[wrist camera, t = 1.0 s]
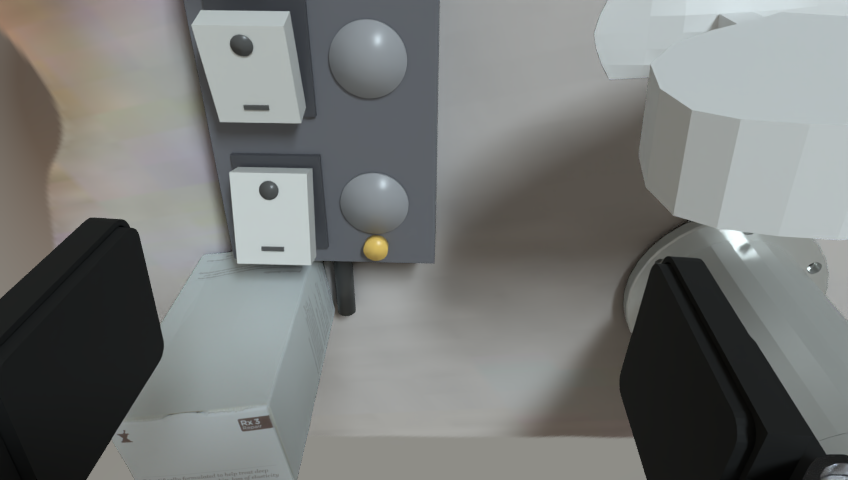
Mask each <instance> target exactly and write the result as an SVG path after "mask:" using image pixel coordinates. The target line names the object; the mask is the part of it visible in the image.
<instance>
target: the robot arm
mask: <svg viewBox="0 0 848 480" xmlns="http://www.w3.org/2000/svg"><path fill="white" fill-rule="evenodd" d="M828 275H829V272H828V267H827V262H826V258H825V256H824V254H823V252H822V250H821V248H820V247H819V245H818V244H817V243H816V242H815V241H814V240H813V238H798V237H783V236H773V235H765V234H757V233H749V232H741V231H733V230H725V229H717V228H713V227H710V226H707V225H703V224H700V223H697V222H693V221H691V222H689V223H687V224H684V225H682V226H680V227H679V228H677V229H675V230H674V231H672V232H670V233H669V234H667V235H665V236H664V237H663V238H662V239H660V240H659V241H658V242H657V243H655V244H654V245H653V246H652V247H651V248H650V249H649V250H648V251H647V252H646V253H645V254H644V255H643V257H642V258H641V259H640V260H639V261H638V263H637V264H636V266H635V268H634V269H633V271H632V273H631V274H630V276H629V279H628V282H627V285H626V288H625V291H624V301H623V307H624V314H625V319H626V321H627V324H628V327H629V330H630V332H631V334H632V336H631V339H630V343H629V346H628V349H627V353H626V356H625V360H624V363H623V367H622V370H621V374H620V393H621V397H622V400H623V403H624V406H625V410H626V413H627V416H628V419H629V423H630V426H631V429H632V433H633V436H634V439H635V442H636V445H637V449H638V452H639V455H640V459H641V462H642V465H643V468H644V472H645V475H646V478H647V480H848V321H847V320H846V319H845V318H844V316H843V315H842V314H841V313H840V312H839V311H838V309H837V308H836V307H835V306H834V305H833V304H832V303H831V301H830V300H829V299H828V298H827V297H826V296H825V294H826V291H827V288H828ZM163 350H164V340H163V336H162V331H161V327H160V323H159V318H158V314H157V310H156V306H155V301H154V297H153V293H152V288H151V284H150V280H149V275H148V271H147V267H146V263H145V258H144V254H143V250H142V245H141V241H140V237H139V234H138V232H137V230H136V229H134V228H130V226H129V224H128V223H127V222H126V221H125V220H122V219H107V218H89V219H87V220H86V221H85V222H84V223H82V224H81V225H80V226H79V227H78V228H77V229H76V230H75V231H74V232H73V233H72V234H70V235H69V236H68V237H67V238H66V239H65V240H64V241H63V242H62V243H61V244H60V245H58V246H57V247H56V248H55V249H54V250H53V251H52V252H51V253H50V254H49V255H48V256H46V257H45V258H44V259H43V260H42V261H41V262H40V263H39V264H38V265H37V266H36V267H35V268H33V269H32V270H31V271H30V272H29V273H28V274H27V275H26V276H25V277H24V278H22V280H20V281H19V282H18V283H17V284H16V285H15V286H14V287H13V288H12V289H10V290H9V291H8V292H7V293H6V294H5V295H4V296H3V297H2V298H1V299H0V480H86V479H87V478H88V476H89V474H90V473H91V471H92V469H93V468H94V466H95V464H96V463H97V462H98V460H99V458H100V457H101V455H102V453H103V452H104V450H105V449H106V447H107V445H108V444H109V442H110V441H111V439H112V437H113V436H114V434H115V433H116V431H117V429H118V428H119V426H120V425H121V423H122V421H123V420H124V418H125V417H126V415H127V413H128V412H129V410H130V409H131V407H132V405H133V404H134V402H135V400H136V399H137V397H138V396H139V394H140V392H141V391H142V389H143V388H144V386H145V384H146V383H147V381H148V380H149V378H150V376H151V375H152V373H153V372H154V370H155V368H156V367H157V365H158V364H159V362H160V360H161V358H162V355H163Z"/></svg>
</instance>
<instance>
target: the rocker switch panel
mask: <svg viewBox="0 0 848 480" xmlns="http://www.w3.org/2000/svg"><path fill="white" fill-rule="evenodd" d="M184 5H185V10H186V15H187V20H188V26H189V31H190V36H191V41H192V46H193V51H194V56H195V61H196V66H197V71H198V77H199V82H200V87H201V92H202V97H203V102H204V107H205V112H206V117H207V123H208V128H209V133H210V138H211V143H212V148H213V153H214V158H215V163H216V168H217V174H218V179H219V184H220V189H221V194H222V199H223V204H224V209H225V214H226V220H227V225H228V230H229V235H230V240H231V245H232V250H233V255H234V259H237V254H236V243H235V232H234V221H233V209H232V198H231V187H230V176H229V172H230V171H232V170H234V169H235V168H237V167H267V168H312V172H313V194H314V216H315V239H316V258H315V260H314V261H334V271H335V282H336V293H337V304H338V312H339V314H340V315H343V316H350V315H352V314H354V313H355V311H356V307H355V293H354V279H353V265H352V262H394V263H435V234H436V180H437V123H438V66H439V9H440V0H184ZM200 10H225V11H290V16H291V22H292V28H293V33H294V39H295V45H296V51H297V57H298V63H299V69H300V75H301V81H302V86H303V92H304V98H305V104H306V109H305V112H304V116H303V119H302V122H301V123H245V122H220V121H219V117H218V114H217V110H216V107H215V104H214V100H213V97H212V94H211V90H210V87H209V84H208V80H207V77H206V73H205V70H204V67H203V63H202V60H201V57H200V53H199V50H198V46H197V43H196V40H195V36H194V33H193V30H192V26H191V25H192V23H193V21H194V20H195V18H196V17H197V15H198V14H199V12H200Z"/></svg>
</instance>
